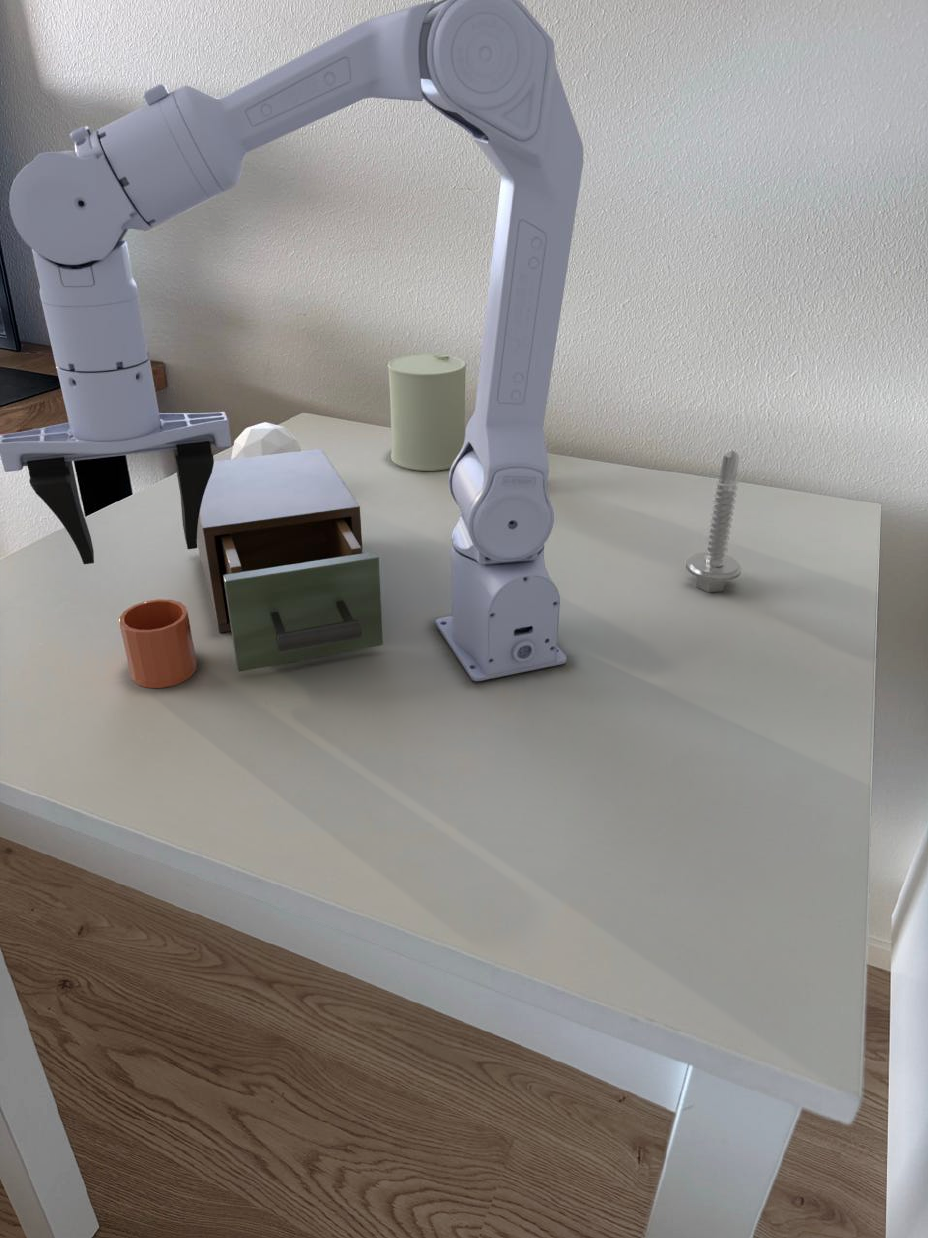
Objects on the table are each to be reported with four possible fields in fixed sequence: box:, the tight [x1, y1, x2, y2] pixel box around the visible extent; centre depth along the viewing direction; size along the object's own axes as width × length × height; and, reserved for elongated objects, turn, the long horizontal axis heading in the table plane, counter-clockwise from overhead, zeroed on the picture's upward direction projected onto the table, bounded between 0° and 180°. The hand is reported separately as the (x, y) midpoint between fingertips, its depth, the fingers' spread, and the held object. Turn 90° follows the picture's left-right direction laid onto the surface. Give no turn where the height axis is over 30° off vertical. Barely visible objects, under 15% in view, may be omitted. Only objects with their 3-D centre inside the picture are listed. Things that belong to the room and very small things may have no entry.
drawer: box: [217, 518, 384, 672], centre depth 72 cm, size 18×11×8 cm, turn 20°
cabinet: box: [197, 448, 364, 634], centre depth 81 cm, size 15×13×10 cm
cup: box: [118, 598, 198, 689], centre depth 69 cm, size 5×5×5 cm
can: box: [387, 353, 467, 472], centre depth 108 cm, size 9×9×12 cm
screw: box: [685, 450, 742, 593], centre depth 79 cm, size 13×5×5 cm
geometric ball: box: [230, 421, 302, 459], centre depth 100 cm, size 8×8×8 cm
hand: (140, 550), depth 65 cm, fingers open, 6 cm apart
